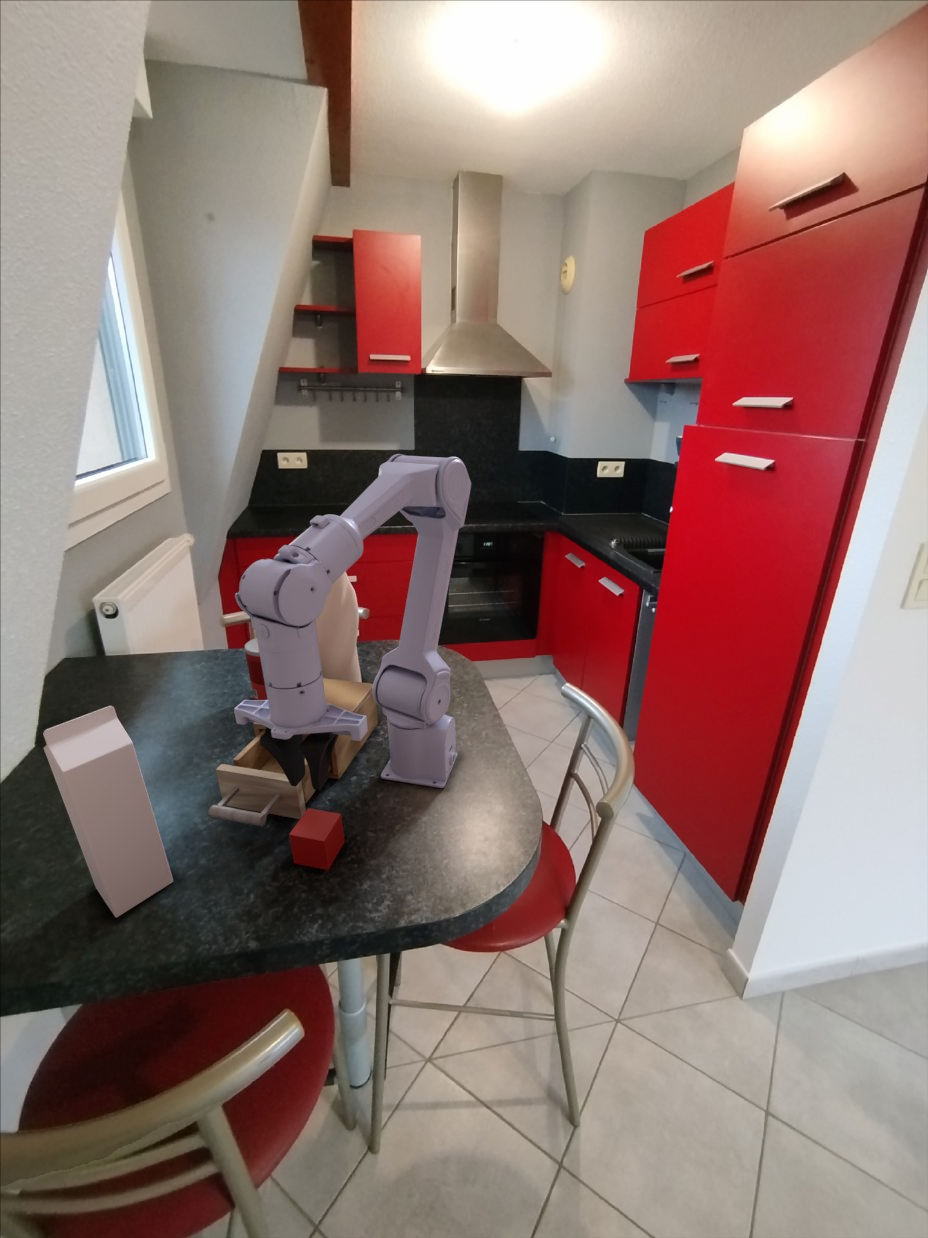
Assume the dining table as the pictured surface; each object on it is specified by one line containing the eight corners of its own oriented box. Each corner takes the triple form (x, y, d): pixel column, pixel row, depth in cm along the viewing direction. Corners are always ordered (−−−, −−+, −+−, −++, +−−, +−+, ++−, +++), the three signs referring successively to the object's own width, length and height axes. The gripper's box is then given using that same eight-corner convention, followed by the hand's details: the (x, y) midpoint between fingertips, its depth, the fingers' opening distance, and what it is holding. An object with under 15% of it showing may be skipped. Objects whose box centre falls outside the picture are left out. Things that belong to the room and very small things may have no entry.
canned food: (286, 711, 93) (277, 654, 88) (245, 706, 94) (234, 650, 90) (306, 689, 100) (299, 636, 95) (268, 685, 101) (259, 632, 97)
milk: (174, 882, 60) (126, 715, 51) (114, 920, 55) (52, 744, 47) (151, 855, 63) (103, 694, 55) (94, 888, 59) (32, 719, 51)
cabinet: (339, 779, 76) (333, 734, 73) (260, 767, 78) (252, 723, 76) (378, 723, 89) (374, 683, 86) (309, 714, 92) (304, 675, 89)
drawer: (280, 849, 63) (273, 810, 61) (197, 832, 65) (188, 795, 63) (347, 755, 79) (344, 722, 77) (279, 745, 82) (274, 713, 80)
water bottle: (338, 703, 95) (320, 551, 84) (302, 690, 99) (281, 544, 88) (374, 678, 103) (363, 537, 92) (339, 668, 107) (324, 532, 97)
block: (344, 842, 65) (341, 813, 63) (328, 870, 61) (323, 841, 59) (312, 835, 66) (308, 807, 64) (293, 863, 62) (288, 834, 60)
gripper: (206, 686, 52) (230, 796, 58) (341, 703, 49) (354, 818, 54) (249, 655, 59) (267, 756, 64) (371, 669, 55) (380, 774, 61)
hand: (309, 782), depth 60 cm, fingers closed
